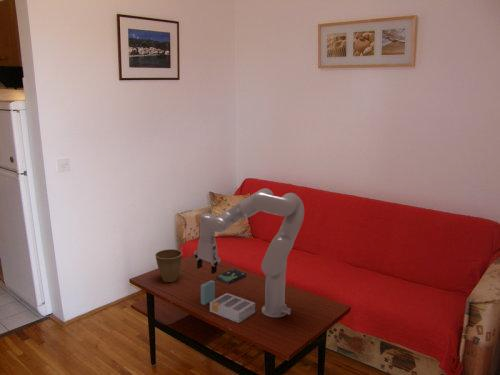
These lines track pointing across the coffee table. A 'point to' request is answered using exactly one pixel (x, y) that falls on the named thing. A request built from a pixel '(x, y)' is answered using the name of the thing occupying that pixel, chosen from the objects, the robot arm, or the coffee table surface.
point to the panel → (207, 292)
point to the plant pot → (169, 264)
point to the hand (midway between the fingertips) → (206, 270)
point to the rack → (232, 307)
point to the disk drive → (231, 276)
